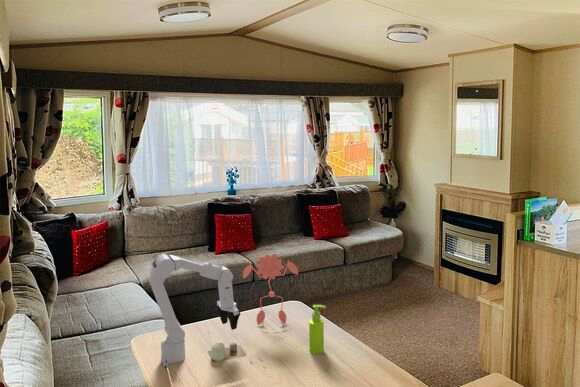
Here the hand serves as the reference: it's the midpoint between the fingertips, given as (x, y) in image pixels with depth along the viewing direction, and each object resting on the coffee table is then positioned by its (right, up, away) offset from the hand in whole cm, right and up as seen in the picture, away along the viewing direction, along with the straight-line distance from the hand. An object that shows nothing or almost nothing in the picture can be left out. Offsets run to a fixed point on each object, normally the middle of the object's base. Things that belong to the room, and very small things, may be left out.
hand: (229, 326), depth 206 cm
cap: (-3, -11, -8) cm, 14 cm away
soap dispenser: (+37, -10, -2) cm, 39 cm away
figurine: (+17, -7, +23) cm, 29 cm away
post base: (0, -11, -4) cm, 12 cm away
